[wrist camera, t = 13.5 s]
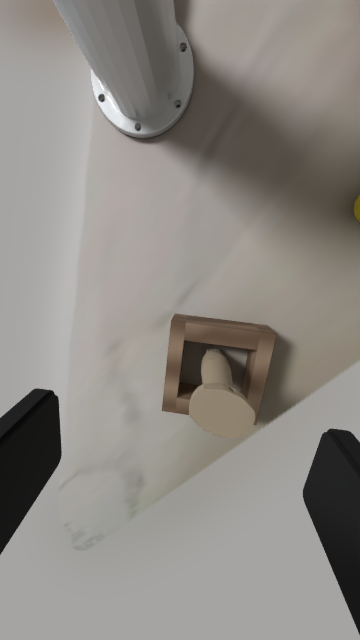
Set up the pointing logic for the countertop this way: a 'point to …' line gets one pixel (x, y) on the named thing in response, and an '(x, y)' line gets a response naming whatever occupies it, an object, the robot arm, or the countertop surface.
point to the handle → (220, 400)
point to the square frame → (217, 333)
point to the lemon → (357, 208)
